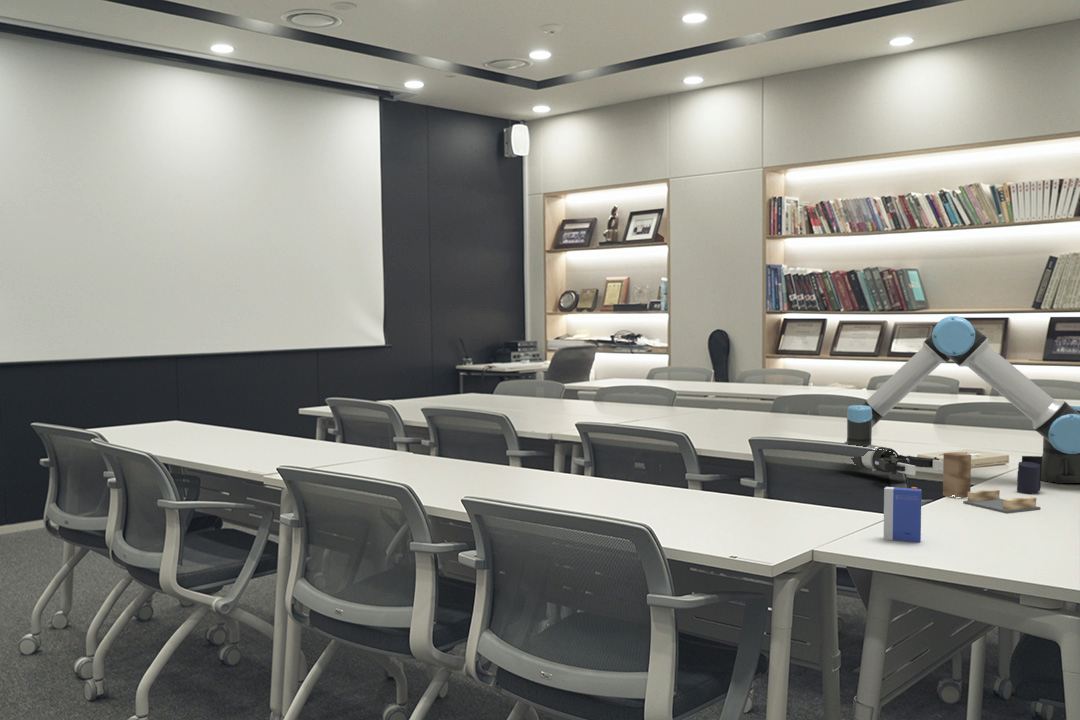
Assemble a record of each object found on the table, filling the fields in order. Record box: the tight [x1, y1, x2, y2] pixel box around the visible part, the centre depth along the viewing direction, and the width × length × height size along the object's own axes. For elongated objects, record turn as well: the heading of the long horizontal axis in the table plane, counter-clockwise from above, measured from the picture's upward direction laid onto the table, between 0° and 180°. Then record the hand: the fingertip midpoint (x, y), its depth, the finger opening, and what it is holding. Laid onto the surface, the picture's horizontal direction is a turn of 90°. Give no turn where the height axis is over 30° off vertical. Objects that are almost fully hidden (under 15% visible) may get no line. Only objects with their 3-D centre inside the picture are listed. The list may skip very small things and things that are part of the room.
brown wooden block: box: [942, 452, 972, 498], centre depth 259 cm, size 5×5×12 cm
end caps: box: [967, 488, 1037, 510], centre depth 246 cm, size 10×13×2 cm
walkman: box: [883, 486, 922, 543], centre depth 210 cm, size 8×3×12 cm, turn 65°
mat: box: [962, 497, 1041, 514], centre depth 246 cm, size 12×14×1 cm
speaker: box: [1016, 455, 1042, 495], centre depth 265 cm, size 8×6×10 cm
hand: (933, 469), depth 267 cm, fingers open, 13 cm apart
